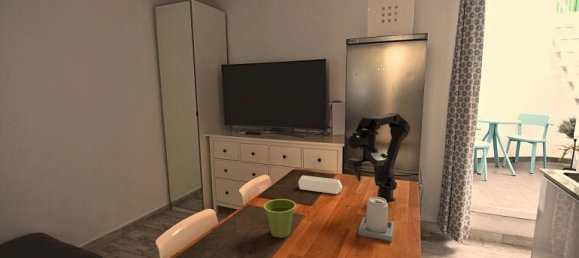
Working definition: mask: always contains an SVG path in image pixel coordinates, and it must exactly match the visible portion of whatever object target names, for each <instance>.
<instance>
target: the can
mask: <svg viewBox="0 0 579 258" xmlns="http://www.w3.org/2000/svg"><path fill="white" fill-rule="evenodd" d="M388 212H389V205H388V203H387V202H386V200H385V199H384V198H381V197H377V196H373V197H369V198H368V201H366V217H367V221H366V227H367V228H368V229H369V231H372V232H377V233H384V232H385V231H386V230H387V221H388V216H389V213H388Z"/></svg>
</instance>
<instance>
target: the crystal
mask: <svg viewBox="0 0 579 258" xmlns="http://www.w3.org/2000/svg"><path fill="white" fill-rule="evenodd" d="M297 182H298V187H299V190H303V191H304V190H305V191H312V192H319V193H320V192H321V193H326V194H334V195H335V194H336V195H338V194H339V193H340V192H342V189H343V185H342V183H341V181H340V180H339V179H336V178H327V177H320V176H312V175H310V176H309V175H301V177H299V180H298V181H297Z"/></svg>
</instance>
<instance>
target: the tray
mask: <svg viewBox="0 0 579 258" xmlns="http://www.w3.org/2000/svg"><path fill="white" fill-rule="evenodd" d="M366 221H367V216H363V217H362V220H361V223H360V224H359V226H358V227H359V228H358V232H357V236H359V237H363V238H368V239H373V240H378V241H383V242H387V243H393V242H392V241H393V236H394V235H393V234H394V228H395V222H394V221H390V220H387V230H386V231H385V232H384V233H377V232H372V231H369V229H368V228H367V227H366Z"/></svg>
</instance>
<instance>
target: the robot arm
mask: <svg viewBox="0 0 579 258" xmlns="http://www.w3.org/2000/svg"><path fill="white" fill-rule="evenodd" d="M385 125H388V127H389V129H390V130H389V133H390V136H391V138H390V141H389V144H388V148H387V150H386V152H384V153H379V151H378V148H377V147H376V146H377V145H376V143H377V142H376V140H377V135H379V133H380V132H378V130H379V129H381V126H385ZM410 131H411V125H410V124H409V122H408V121H407V120H406V119H404V118H403V117H402V116H401V115H400V113H393V112H392V113H390V112H389V113H388V114H383V115H379V116H363V117H361V118H360V121H359V123H358V125H357V127H356V129H355V132H352V135H351V136H350V137H349V138H348V145H349V147H350V148H351V149H353V150H356V149H359V150H361V155H360V156H359V158H356V157H352V158H348V159H347V161H346V165H347V166H349V167H350V168H351V169H352V171H353V172H354V174H355V177H356V180H357V182H361V177H362V176H361V173H362V172H361V171H362V169H363V167H362V166H363V165H364V164H372V166H373V173H374V185H375V186H377V187H378V190H377V195H376V197H381V198H384V199H385V200H386V203H387V202H389V203H390V202H394V201H396V199H395V198H394V191H396V189H397V186H398V183H397V182H396V180H395V176H396V175H395V171H394V167H395V164H396V161H397V157H398V154H399V151H400V149H401V144H402V142H403V141H404V140H405V139H406V138H407V137H408V135H409V133H410Z"/></svg>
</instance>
